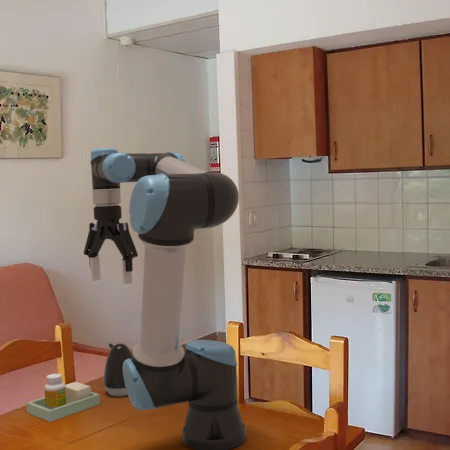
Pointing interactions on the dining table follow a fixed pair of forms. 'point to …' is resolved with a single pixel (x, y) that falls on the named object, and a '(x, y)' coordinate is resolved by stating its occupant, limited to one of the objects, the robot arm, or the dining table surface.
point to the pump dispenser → (116, 369)
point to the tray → (61, 407)
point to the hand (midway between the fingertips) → (111, 282)
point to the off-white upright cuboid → (76, 392)
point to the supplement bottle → (55, 391)
